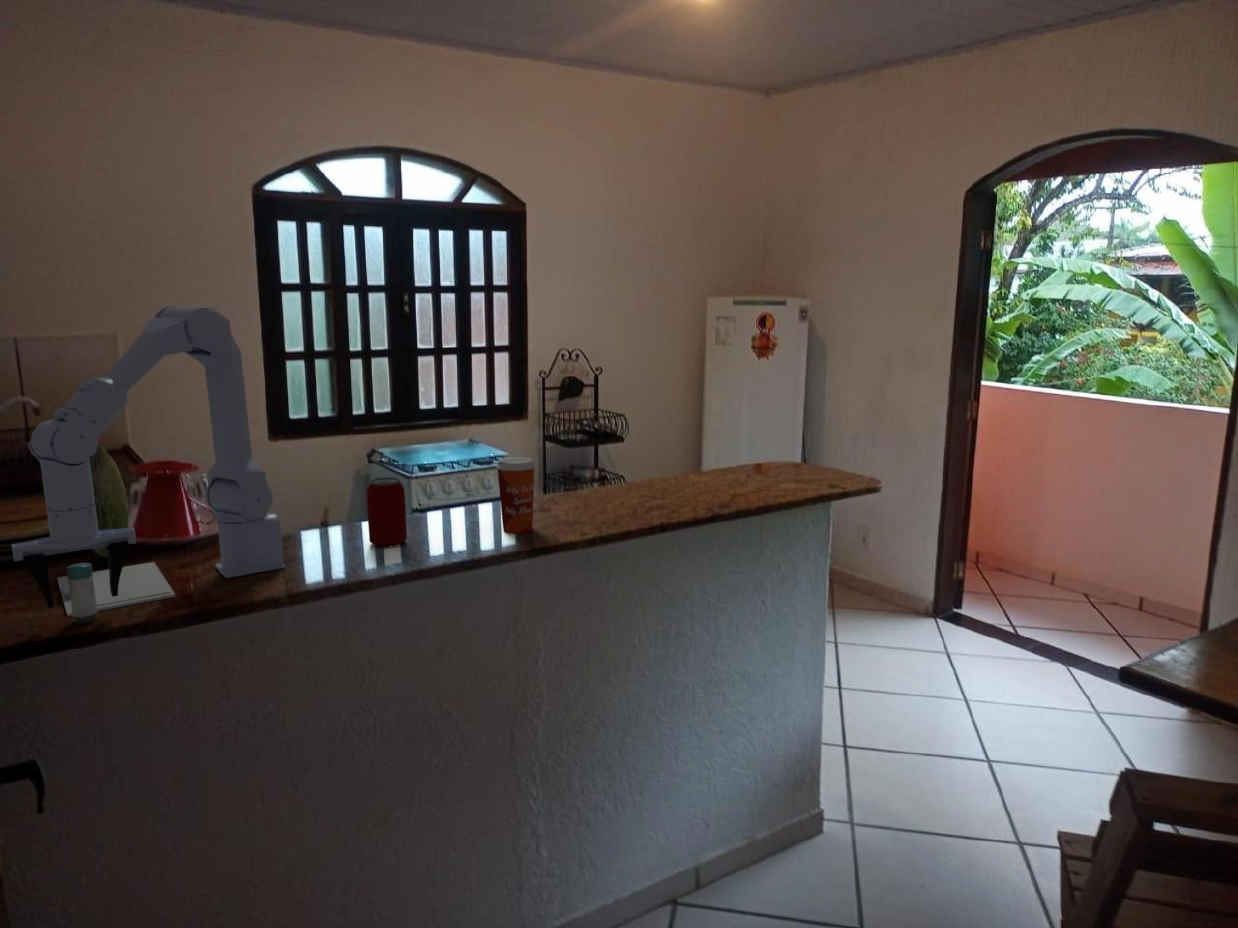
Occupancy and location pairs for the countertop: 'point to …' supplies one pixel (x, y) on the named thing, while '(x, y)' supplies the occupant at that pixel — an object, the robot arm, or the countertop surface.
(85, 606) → the white cylinder
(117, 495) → the vegetable
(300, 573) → the countertop surface
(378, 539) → the beverage can
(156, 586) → the clipboard
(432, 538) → the countertop surface
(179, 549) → the countertop surface
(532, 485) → the paper cup
